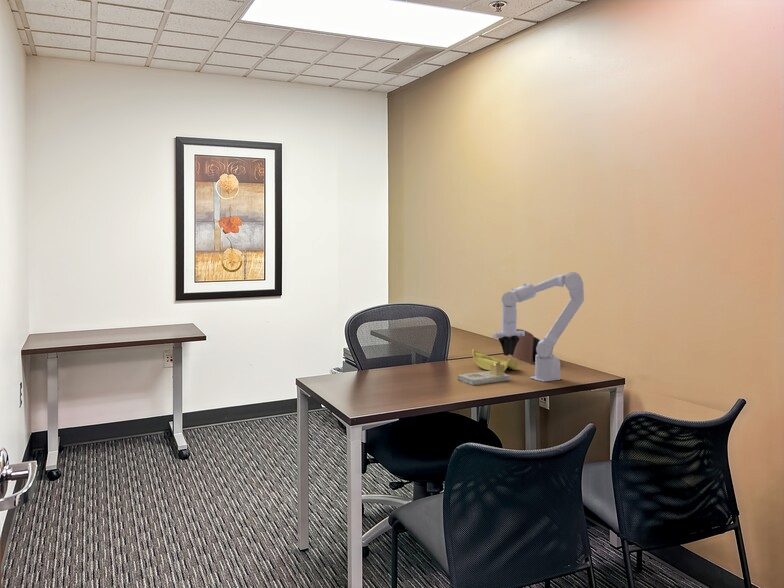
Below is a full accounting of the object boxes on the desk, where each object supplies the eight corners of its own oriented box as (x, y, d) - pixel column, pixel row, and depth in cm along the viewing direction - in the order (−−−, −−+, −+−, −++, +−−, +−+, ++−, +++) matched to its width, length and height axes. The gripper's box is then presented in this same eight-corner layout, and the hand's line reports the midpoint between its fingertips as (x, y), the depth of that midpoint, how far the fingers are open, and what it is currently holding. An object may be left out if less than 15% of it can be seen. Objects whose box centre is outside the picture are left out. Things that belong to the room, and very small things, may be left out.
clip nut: (498, 371, 249) (498, 361, 249) (504, 373, 245) (504, 362, 245) (490, 372, 247) (490, 361, 247) (496, 374, 244) (496, 363, 243)
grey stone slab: (494, 375, 252) (494, 370, 252) (510, 380, 243) (510, 375, 243) (457, 379, 244) (457, 374, 243) (472, 385, 235) (472, 379, 235)
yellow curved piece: (520, 364, 263) (508, 357, 256) (514, 380, 262) (502, 374, 255) (482, 354, 277) (470, 347, 270) (477, 370, 275) (465, 363, 269)
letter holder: (531, 364, 275) (532, 333, 273) (511, 356, 294) (512, 327, 292) (551, 363, 277) (552, 332, 276) (530, 355, 296) (531, 326, 295)
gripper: (516, 319, 254) (516, 351, 255) (488, 321, 247) (487, 354, 248) (528, 321, 248) (527, 354, 249) (499, 323, 241) (498, 357, 242)
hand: (508, 355), depth 248 cm, fingers closed
